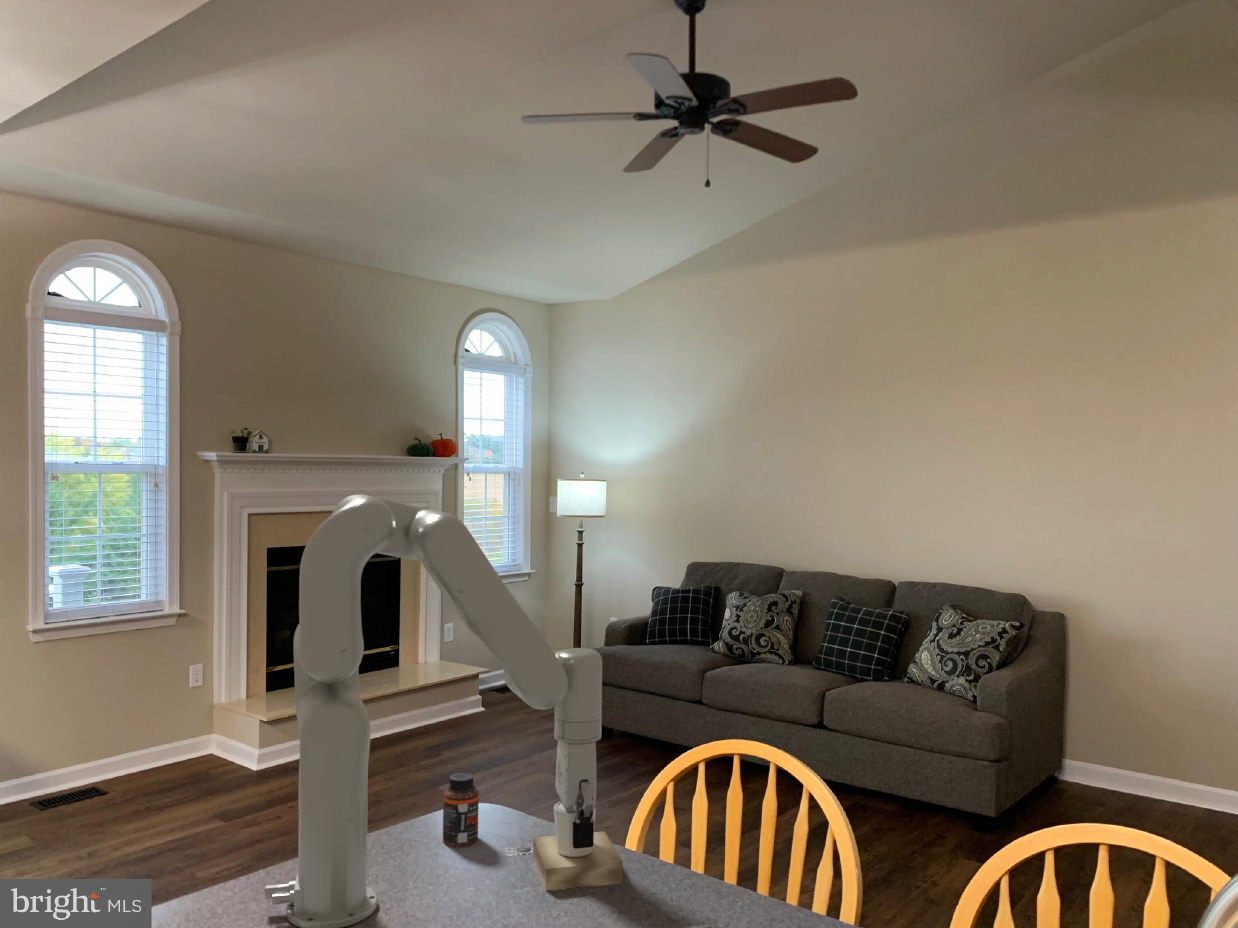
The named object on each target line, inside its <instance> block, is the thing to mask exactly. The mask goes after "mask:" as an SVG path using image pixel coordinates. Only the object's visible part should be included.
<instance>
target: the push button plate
mask: <svg viewBox="0 0 1238 928" xmlns="http://www.w3.org/2000/svg"><path fill="white" fill-rule="evenodd" d="M528 846H529V845H523V846H520V847H521V848H517V851H518V852H533V851H530V850H531V849H533V848H530V847H528ZM524 847H527V848H524ZM505 848H506V849H508V848H509V847H505ZM510 848H511V847H510ZM506 849H505V852H508V851H506ZM511 849H513V848H511ZM519 850H520V851H519ZM525 850H526V851H525ZM510 852H514V851H510ZM515 853H517V852H515ZM513 855H514V856H513ZM506 856H507V857H508V856H509V857H517V854H516V855H515V854H511V855H509V854H507V853H506ZM520 856H523V855H522V854H520ZM525 856H529V855H528V854H526V855H525Z"/></svg>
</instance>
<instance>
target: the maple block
mask: <svg viewBox="0 0 1238 928" xmlns="http://www.w3.org/2000/svg"><path fill="white" fill-rule="evenodd" d="M532 839H533V840H532V841H533V842H532V844H533V854H532V858H533V857H534V858H533V860H535V861H534V863H535V866H536V869H537V872H538V871H539V872H538V875H539V877H540V876H541V877H540V879H542V880H541V882H542V885H543V888H544V887H545V888H544V891H545V892H548V891H547V890H553V891H559V890H558V889H562V890H567V889H566V888H572V889H577V888H576V887H582V888H588V886H589V888H590V887H598V886H599V887H600V886H608V885H609V886H610V885H611V886H612V885H619V884H623V866H624V865H623V860H622V858H621V856H620V855H619V853H618V852H617V850H616V848H615V846H614V845H613V843H612V841H611V840H610V838H609V836H608V835H607V833H606V832H605V831H604V830H603V831H594V839H595V840H594V845H593V847H592V852H591V853H589V854H587V855H584V856H579V857H569V856H564V855H561V854H559V853H558V851H557V843H556V835H549V836H548V835H547V836H537V837H536V836H535V837H533V838H532Z"/></svg>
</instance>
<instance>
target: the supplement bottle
mask: <svg viewBox="0 0 1238 928" xmlns="http://www.w3.org/2000/svg"><path fill="white" fill-rule="evenodd" d="M448 785H449V786H448V787H447V788H446V789H444V791H443V802H442V803H443V806H442V807H443V808H442V809H443V811H442V812H443V813H442V815H443V816H442V842H443V844H444V845H445V846H448V847H451V848H466V847H470V846H473V845H474V844H476V843H477V842H478V838H479V799H480V798H479V794H480V792H479V790H478V788H477V787H475V785H474V775H473V774H472V773H466V772H458V773H457V772H456V773H453V774H451V775H450V776H449V781H448Z"/></svg>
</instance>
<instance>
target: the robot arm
mask: <svg viewBox="0 0 1238 928" xmlns="http://www.w3.org/2000/svg"><path fill="white" fill-rule="evenodd" d="M375 554H381V555H384V556H385V555H386V556H391V557H396V558H400V559H406V560H413V561H419V562H420V563H421V564H422V566H423V568H424V569H425V570H426V572H427V573H428V575H429V576H430V578H431V579H432V581H433V582H434V583H435V584H436V586H437V588H438V589H439V591H440V592H441V594H442V595H443V596H444V598H445V599H446V601H447V602H448V603H449V605H450V607H451V608H452V609H453V611H454V613H455V614H456V616H457V617H458V619H459V620H460V621H461V622H462V623H463V625H464V626H465V627H466V629H467V630H469V632H470V633H471V634H472V635H473V636H475V637H476V638H477V639H478V640H479V641H480V642H481V643H482V644H483V645H484V646H485V647H486V648H487V650H489V652H490V653H491V655H492V656H493V657H494V658H495V659H496V660H497V662H498V663H499V664H500V666H501V667H502V668H503V670H502V676H503V679H504V682H505V684H506V686H507V687H508V688H509V689H510V691H511V692H513V693H514V694H515V695H516V696H517V697H518V698H520V700H522V701H523V702H524V703H525V704H527V705H528V706H530V707H531V708H533V709H535V710H540V711H541V710H542V711H543V710H550V709H552V708H553V709H554V717H553V719H554V724H553V725H554V726H553V727H554V729H553V732H554V733H553V735H554V736H553V737H554V739H555V741H556V740H557V746H556V765H555V779H554V780H555V783H554V784H555V786H554V787H555V790H556V793H557V795H558V796H559V799H560V801H562V802H563V804H564V805H565V806H566V807H570V805H573V809H574V817H575V822H573V847H574V848H575V849H578V848H589V847H593V845H594V832H595V826H594V817H593V809H592V806H593V804H594V803H595V804H596V800H597V750H596V742H597V741H600V740H601V739H602V720H603V718H602V715H603V714H602V709H603V708H602V706H603V702H602V701H603V700H602V698H603V657H602V655H601V654H600V653H599V652H598V650H595V649H592V648H585V647H572V648H565V649H562V650H555V649H552V647H551V646H550V645H549V644H548V642H547V640H546V638H544V636H543V634H541V632H540V630H539V629H538V628H537V627H536V625H535V624H534V622H533V621H532V620H531V618H530V617H529V616H528V615H527V613H526V611H525V610H523V608H522V606H521V604H520V603H519V602H518V600H517V599H516V597H515V596H514V594H513V593H512V592H511V591H510V590H509V588H508V586H506V584H505V583H504V581H503V580H502V578H501V577H500V575H499V573H498V572H497V571H496V569H495V568H494V567H493V565H492V564H491V562H490V560H489V558H487V556H486V554H485V553H484V551H483V550H482V548H481V547H480V545H479V544H478V541H476V539H475V538H474V536H473V535H472V533H471V532H470V530H469V528H467V526H466V525H465V524H464V522H463V521H462V520H461V519H460V518H458V517H457V516H456V515H454V514H452V513H449V512H445V511H442V510H437V509H430V508H425V507H420V506H415V505H410V504H407V503H401V502H398V501H397V502H396V501H394V500H393V501H392V500H389V499H385V498H382V497H381V498H380V497H376V496H373V495H369V494H362V493H361V494H353V495H349V496H347V497H344V498H343V499H342V500H341V501H339V502H338V504H336V506H335V507H334V508H333V511H332V514H330V516H328V517H327V518H326V519H325V520H324V521H323V522H322V523H320V525H319V526H318V527H317V528H316V529H315V531H314V532H313V533H312V535H311V536H310V539H308V542H307V543H306V545H305V548H304V550H303V552H302V557H301V561H300V568H299V581H298V582H299V583H298V584H299V586H298V588H299V590H298V593H299V594H298V597H299V599H298V616H299V620H298V621H299V623H298V625H297V626H296V629H295V631H294V635H293V667H294V668H293V671H294V673H293V675H294V694H295V695H294V697H295V698H294V699H295V715H296V720H297V726H298V733H299V734H298V735H299V763H298V764H299V768H298V839H297V840H298V846H297V847H298V851H297V852H298V855H297V861H298V862H297V863H298V864H297V869H298V870H297V873H296V878H295V879H294V880H293V879H292V880H289V881H288V883H280V884H279V883H274V884H273V883H272V884H266V885H265V887H264V888H265V889H264V890H265V891H264V900H271V905H282V904H286V908H285V915H286V918H287V919H286V920H288V922H290V923H291V924H292V925H294V926H296V927H299V928H345V927H349V926H352V925H354V924H356V923H359V922H361V921H363V920H365V919H367V918H368V917H370V915H372V914H373V912H375V910H376V909H377V907H378V895H377V893H376V891H375V890H374V889H373V888H371V887H370V886H367V879H368V877H367V875H368V873H367V871H368V869H367V868H368V866H367V865H368V863H367V862H368V800H369V799H368V780H369V778H368V775H369V772H368V771H369V758H370V747H371V731H372V730H371V722H370V717H369V713H368V711H367V708H366V706H365V704H364V702H363V700H362V698H361V694H360V673H359V669H360V667H359V666H360V665H361V663H362V660H363V656H364V650H365V647H364V646H365V645H364V637H363V636H364V635H363V627H362V626H363V625H362V610H361V609H362V608H361V607H362V605H361V595H362V593H361V590H362V589H361V587H362V586H361V583H362V582H361V581H362V574H363V570H364V567H365V566H366V564H367V562H368V561H369V560H370V558H372V556H374V555H375ZM576 800H582V801H578V802H576ZM581 807H583V809H581V811H580V813H579V810H578V808H581Z"/></svg>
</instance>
